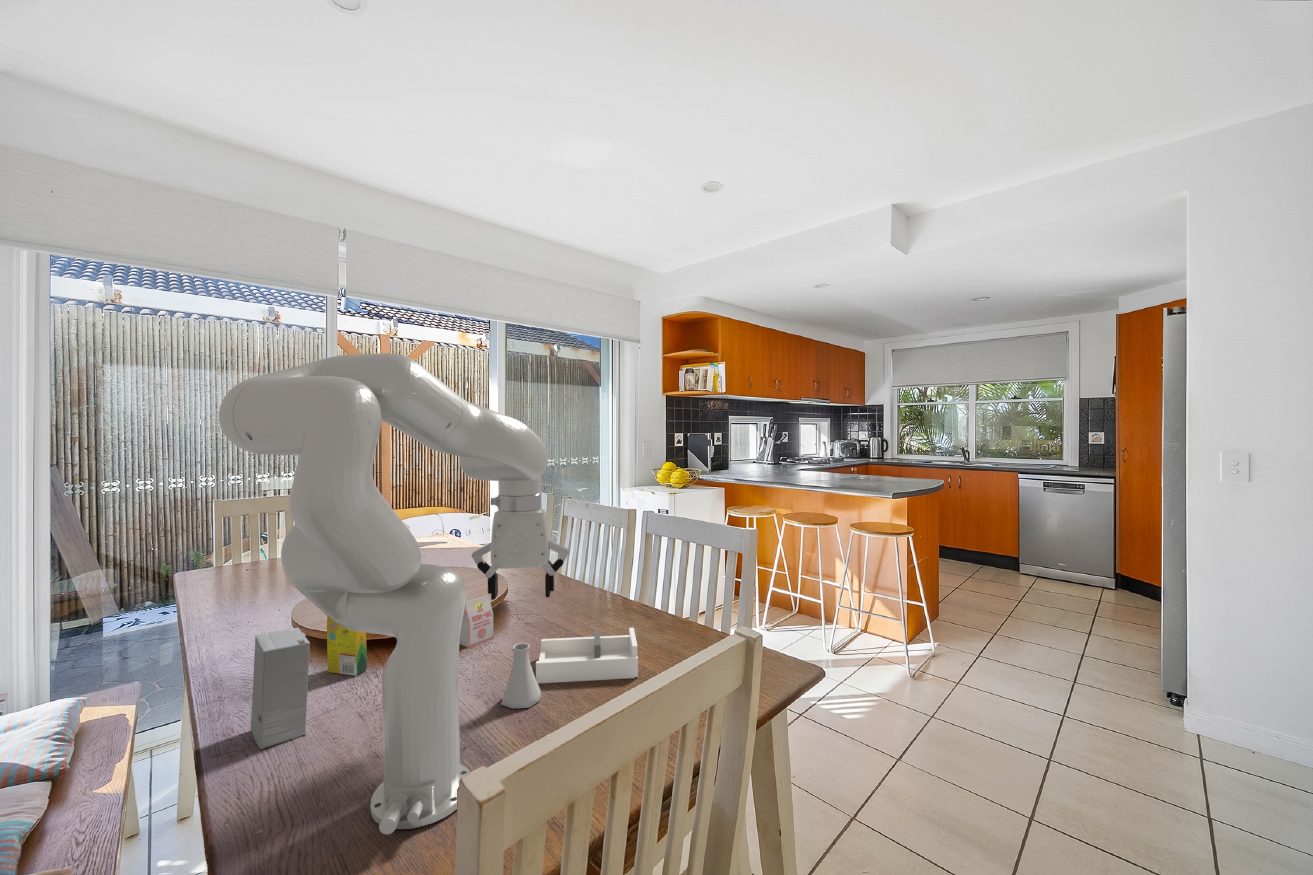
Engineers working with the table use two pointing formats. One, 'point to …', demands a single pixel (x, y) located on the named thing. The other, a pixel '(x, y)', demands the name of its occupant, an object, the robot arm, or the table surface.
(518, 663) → the flask
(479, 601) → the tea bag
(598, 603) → the table surface
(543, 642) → the tray
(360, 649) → the crayon box
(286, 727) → the skincare box
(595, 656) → the pusher
